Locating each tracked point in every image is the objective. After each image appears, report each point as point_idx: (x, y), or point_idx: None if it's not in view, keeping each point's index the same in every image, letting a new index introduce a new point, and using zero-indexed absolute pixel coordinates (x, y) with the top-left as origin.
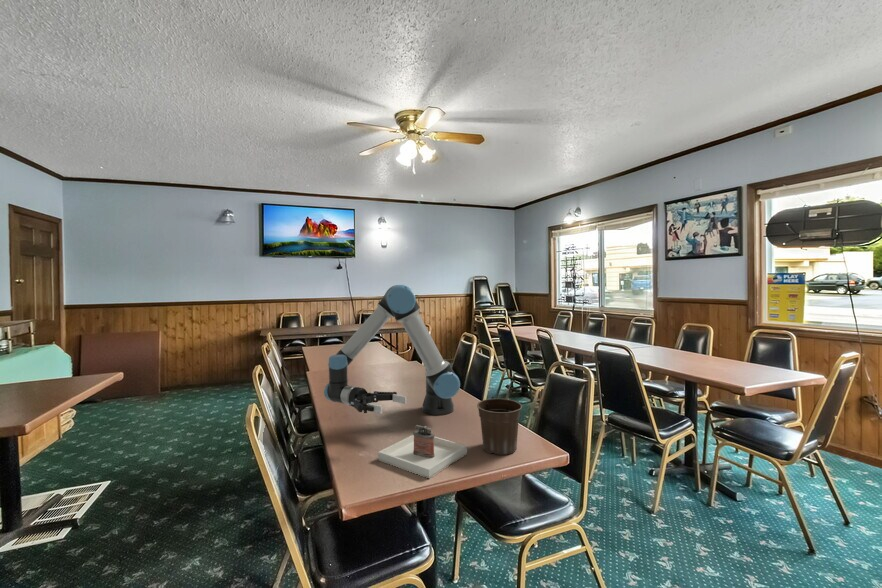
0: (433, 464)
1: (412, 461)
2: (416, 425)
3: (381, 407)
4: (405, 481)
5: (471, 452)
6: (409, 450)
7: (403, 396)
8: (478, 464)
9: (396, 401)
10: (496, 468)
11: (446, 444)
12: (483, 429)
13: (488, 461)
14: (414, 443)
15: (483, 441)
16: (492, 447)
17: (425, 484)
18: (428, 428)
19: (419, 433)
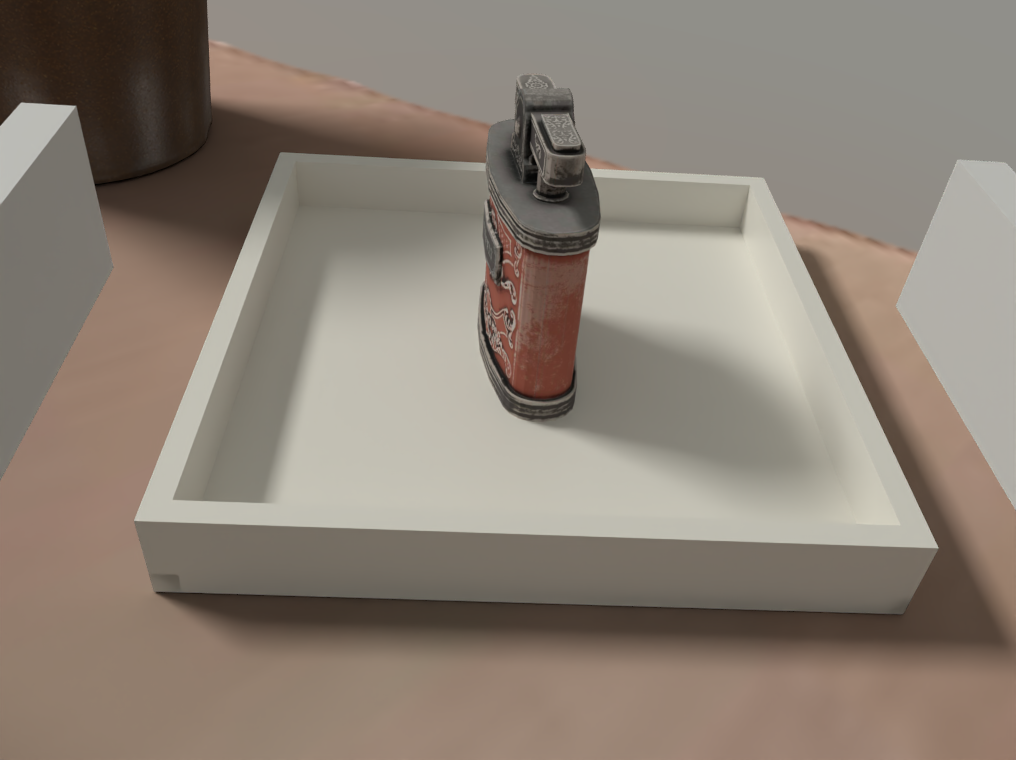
0: (607, 255)
1: (685, 356)
2: (569, 142)
3: (965, 187)
4: (888, 301)
5: (243, 204)
6: (535, 470)
7: (37, 137)
8: (394, 148)
9: (1, 458)
10: (386, 100)
11: (265, 281)
12: (160, 6)
13: (324, 131)
14: (580, 317)
15: (150, 116)
16: (208, 91)
17: (805, 229)
18: (537, 84)
19: (567, 190)
